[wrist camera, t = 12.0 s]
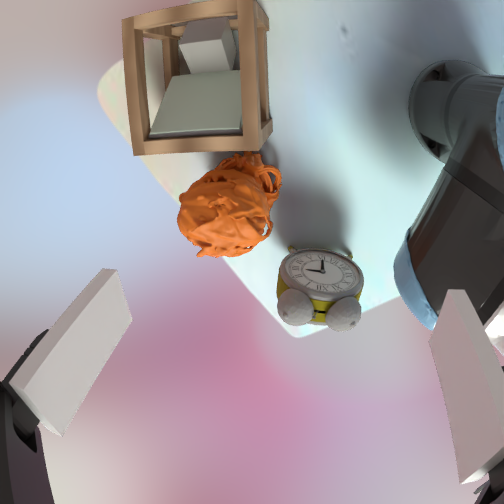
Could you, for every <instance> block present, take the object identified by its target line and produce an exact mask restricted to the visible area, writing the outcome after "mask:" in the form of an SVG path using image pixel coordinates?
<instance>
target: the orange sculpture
mask: <svg viewBox="0 0 504 504" xmlns="http://www.w3.org/2000/svg"><path fill="white" fill-rule="evenodd" d="M261 157H262V155H260V154H259V153H257V154H254V153H253V154H252V151H250V152H248V151H244V156H243V157H242V156H241V155H239V154H238V153H235V154H234V156H233V158H227V159H223V160H222V162H221V163H220V164H219V165H218V166H217V167H216V168H215V170H211V171H209V172H207V173H206V174H205V175H204V176H203V177H202V178H200V179H199V180H197V181H196V182H194V183H193V184H192V185H191V186H190V188H189V189H188V191H186V192H185V193H182V194H180V196H179V201H180V202H181V207H180V211H179V214H178V217H177V223H178V226H179V229H180V231H181V233H182V234H183V235H184V236H185V237H186V238H187V239H188V240H189V241H190V242H193V245H195V246H196V245H197V246H200V247H201V248H202V250H201V251H200V252H198V254H197V257H202V256H204V255H208V256H212V257H213V256H216V258H217V257H219V256H227V257H236V256H240V255H242V254H245V253H247V252H250V251H251V250H252V249H253V247H254V246H256V245H257V244H258V243H259V242H260V241H263V240H265V239H266V238H267V237H268V236H269V235H270V233H271V231H272V227H273V223H272V221H270V215H269V211H270V208H271V207H272V206H273V202H274V201H276V200H277V199H278V197H279V189H280V187H281V186H282V184H280V183H282V182H281V178H282V177H281V173H280V171H279V169H277V168H275V167H274V166H271V165H264V164H263V163H262V160H261ZM268 172H269V173H270V172H271V173H273V174H274V175H275V177H276V179H275V182H274V184H273V186H272V181H271V178H270V176H269V174H268ZM275 190H276V192H275V193H274V191H275ZM266 223H267V226H268V228H269V229H268V230H267V233H266V235H264V236H262V234H263V233H264V227H265V224H266ZM269 223H270V224H269ZM249 246H250V247H249ZM247 247H249V248H247Z"/></svg>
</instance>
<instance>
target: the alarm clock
mask: <svg viewBox="0 0 504 504" xmlns="http://www.w3.org/2000/svg"><path fill="white" fill-rule="evenodd" d="M288 250H289V252H290V254H289V255H287V256H286V257H285V258H284V259H283V260H282V262H281V265H280V268H279V274H278V282H277V298H278V304H277V309H278V313H279V316H280V317H281V319H282V320H283V321H284V322H286V323H287V324H289V325H293V326H300V325H304V324H306V323H308V324H313V325H324V326H325V325H328V326H329V327H330V328H331V329H333V330H335V331H338V332H345V331H348V330H350V329H352V328H353V327H355V326H356V325H357V323H358V322H359V320H360V318H361V306H360V304H359V302H358V301H359V298H360V295H361V292H362V288H363V285H364V277H363V274H362V271H361V269H360V268H359V267H358V266H357V264H356V263H355V262H353V261H352V258H353V256H352V255H348V256H347V257H346V256H344V255H342V254H339V253H337V252H334V251H331V250H326V249H317V248H308V249H300V250H295V249H294V248H293V247H292V246H289V247H288Z"/></svg>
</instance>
